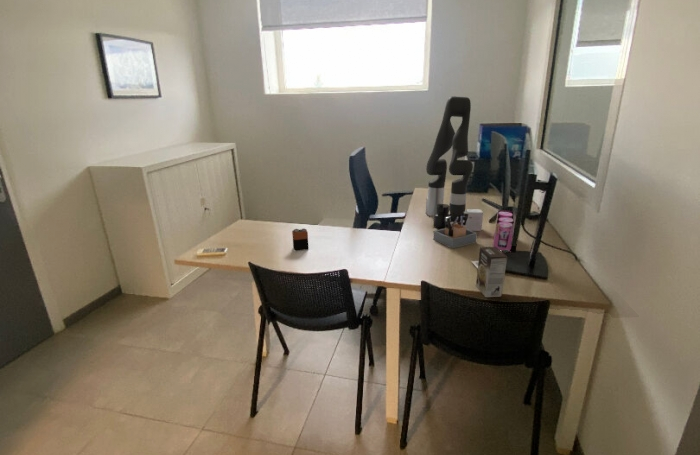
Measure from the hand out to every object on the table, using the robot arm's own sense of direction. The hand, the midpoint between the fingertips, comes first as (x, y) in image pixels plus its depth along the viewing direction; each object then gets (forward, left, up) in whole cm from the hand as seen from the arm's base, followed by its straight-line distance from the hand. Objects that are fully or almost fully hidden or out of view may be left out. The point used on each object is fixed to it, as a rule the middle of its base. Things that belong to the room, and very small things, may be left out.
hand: (454, 234), depth 187 cm
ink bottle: (-19, +9, -3) cm, 21 cm away
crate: (0, 0, -3) cm, 3 cm away
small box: (-7, +20, -3) cm, 21 cm away
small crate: (0, 0, -1) cm, 1 cm away
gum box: (+15, +17, -3) cm, 23 cm away
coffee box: (+43, -25, -3) cm, 50 cm away
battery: (-31, -69, -3) cm, 76 cm away
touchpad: (+31, -12, -4) cm, 33 cm away
